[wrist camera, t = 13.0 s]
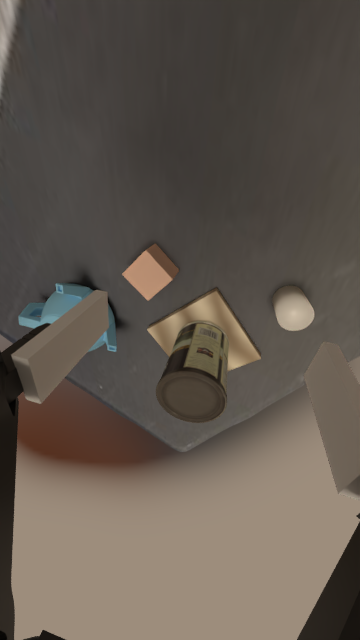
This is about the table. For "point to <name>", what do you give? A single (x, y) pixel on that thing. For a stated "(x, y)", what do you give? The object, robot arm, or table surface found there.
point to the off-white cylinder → (292, 308)
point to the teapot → (61, 304)
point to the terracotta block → (151, 272)
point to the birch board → (215, 312)
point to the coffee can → (196, 374)
